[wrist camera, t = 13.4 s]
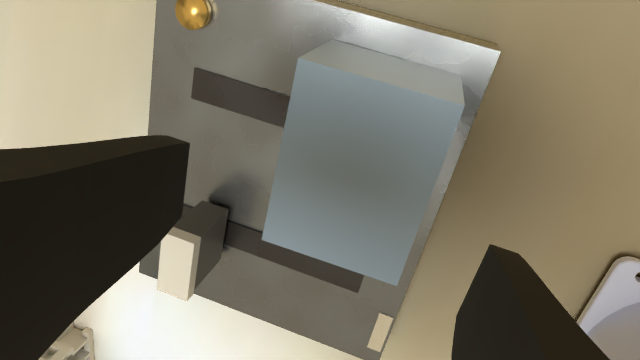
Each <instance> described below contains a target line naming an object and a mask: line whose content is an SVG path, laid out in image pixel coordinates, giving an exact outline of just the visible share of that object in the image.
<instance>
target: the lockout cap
mask: <svg viewBox="0 0 640 360" xmlns="http://www.w3.org/2000/svg"><path fill="white" fill-rule="evenodd" d="M464 106H465V102H464V95H463V87H462V80H461V75H458V74H455V73H451V72H447V71H444V70H440V69H437V68H433V67H429V66H426V65H422V64H419V63H415V62H411V61H408V60H404V59H401V58H397V57H393V56H390V55H386V54H383V53H379V52H375V51H372V50H368V49H364V48H361V47H357V46H354V45H350V44H346V43H343V42H339V41H336V40H330V41H328V42H327V43H325V44H323V45H321V46H319V47H317V48H315V49H314V50H312V51H310V52H308V53H306V54H304V55H302V56H300V57H299V58H298V61H297V66H296V71H295V76H294V81H293V86H292V91H291V96H290V101H289V106H288V111H287V116H286V121H285V126H284V131H283V136H282V141H281V146H280V151H279V156H278V161H277V166H276V171H275V176H274V181H273V186H272V190H271V195H270V200H269V205H268V210H267V215H266V220H265V225H264V230H263V235H262V240H264V241H267V242H269V243H272V244H275V245H278V246H281V247H284V248H287V249H290V250H293V251H296V252H299V253H302V254H304V255H307V256H310V257H313V258H316V259H319V260H322V261H325V262H328V263H331V264H334V265H337V266H340V267H342V268H345V269H348V270H351V271H354V272H357V273H360V274H363V275H366V276H369V277H372V278H375V279H378V280H380V281H383V282H386V283H389V284H392V285H395V286H397V284H398V282H399V279H400V276H401V274H402V271H403V268H404V266H405V263H406V260H407V258H408V255H409V252H410V250H411V247H412V244H413V242H414V239H415V236H416V234H417V231H418V229H419V226H420V223H421V221H422V218H423V215H424V213H425V210H426V207H427V205H428V202H429V199H430V197H431V194H432V191H433V189H434V186H435V183H436V181H437V178H438V175H439V173H440V170H441V167H442V165H443V162H444V160H445V157H446V154H447V152H448V149H449V146H450V144H451V141H452V138H453V136H454V133H455V130H456V128H457V125H458V122H459V120H460V117H461V114H462V112H463V109H464Z"/></svg>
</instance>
